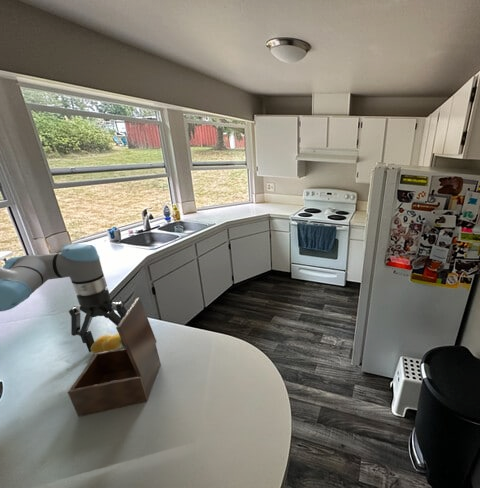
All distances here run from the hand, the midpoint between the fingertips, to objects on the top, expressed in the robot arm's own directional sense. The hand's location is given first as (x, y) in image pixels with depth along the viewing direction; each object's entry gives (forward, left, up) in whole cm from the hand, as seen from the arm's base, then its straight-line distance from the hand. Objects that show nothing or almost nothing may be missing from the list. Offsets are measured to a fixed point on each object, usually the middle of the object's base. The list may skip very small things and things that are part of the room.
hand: (109, 346), depth 88 cm
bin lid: (+26, +4, +17) cm, 31 cm away
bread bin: (+22, -2, -1) cm, 22 cm away
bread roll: (0, 0, 0) cm, 1 cm away
